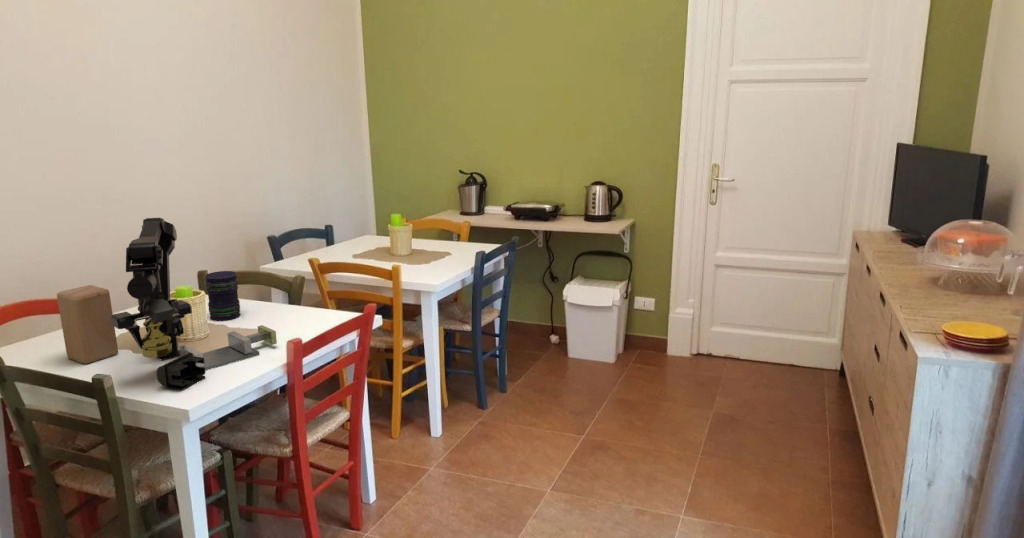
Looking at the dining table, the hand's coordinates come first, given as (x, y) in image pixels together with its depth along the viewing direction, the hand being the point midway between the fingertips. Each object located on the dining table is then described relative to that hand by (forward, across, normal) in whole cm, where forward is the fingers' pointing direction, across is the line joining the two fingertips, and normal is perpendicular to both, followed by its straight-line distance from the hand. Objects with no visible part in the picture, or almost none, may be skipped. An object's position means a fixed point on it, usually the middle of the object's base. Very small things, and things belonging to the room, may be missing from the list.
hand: (156, 344), depth 186 cm
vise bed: (+8, +16, -2) cm, 18 cm away
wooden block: (+9, -8, +27) cm, 30 cm away
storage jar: (+8, +35, +34) cm, 50 cm away
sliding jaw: (+7, +26, -2) cm, 27 cm away
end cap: (+9, +2, -11) cm, 14 cm away
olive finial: (+3, 0, 0) cm, 3 cm away
